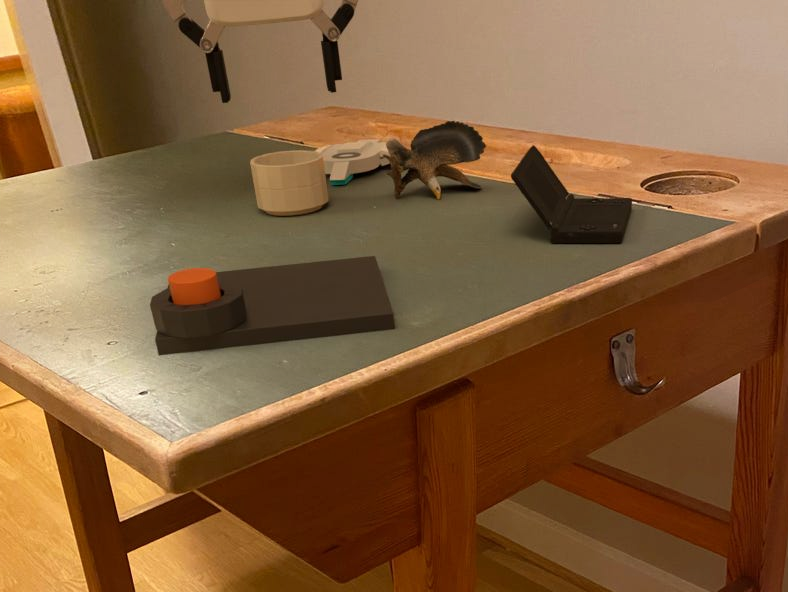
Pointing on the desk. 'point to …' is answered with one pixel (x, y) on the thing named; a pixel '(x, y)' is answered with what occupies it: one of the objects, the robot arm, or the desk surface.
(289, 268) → the scale
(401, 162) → the triceratops head
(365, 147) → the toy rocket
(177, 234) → the desk surface
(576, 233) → the handheld gaming console
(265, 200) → the bowl
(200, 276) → the button
